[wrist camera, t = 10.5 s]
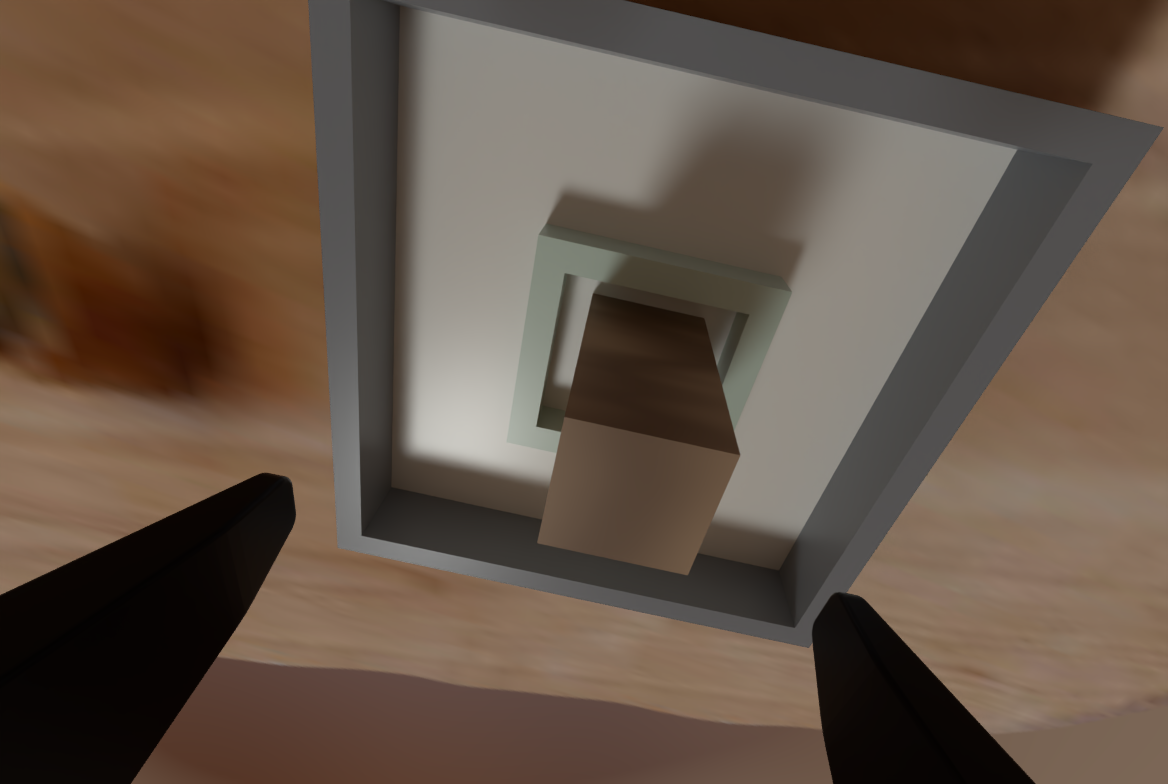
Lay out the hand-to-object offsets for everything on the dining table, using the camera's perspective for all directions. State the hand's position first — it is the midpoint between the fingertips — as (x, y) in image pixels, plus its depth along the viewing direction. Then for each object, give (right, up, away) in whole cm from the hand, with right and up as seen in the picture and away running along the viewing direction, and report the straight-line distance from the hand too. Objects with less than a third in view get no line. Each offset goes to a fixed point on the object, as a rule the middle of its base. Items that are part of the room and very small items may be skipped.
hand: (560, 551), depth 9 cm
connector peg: (+2, +4, +11) cm, 12 cm away
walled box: (+2, +4, +12) cm, 13 cm away
